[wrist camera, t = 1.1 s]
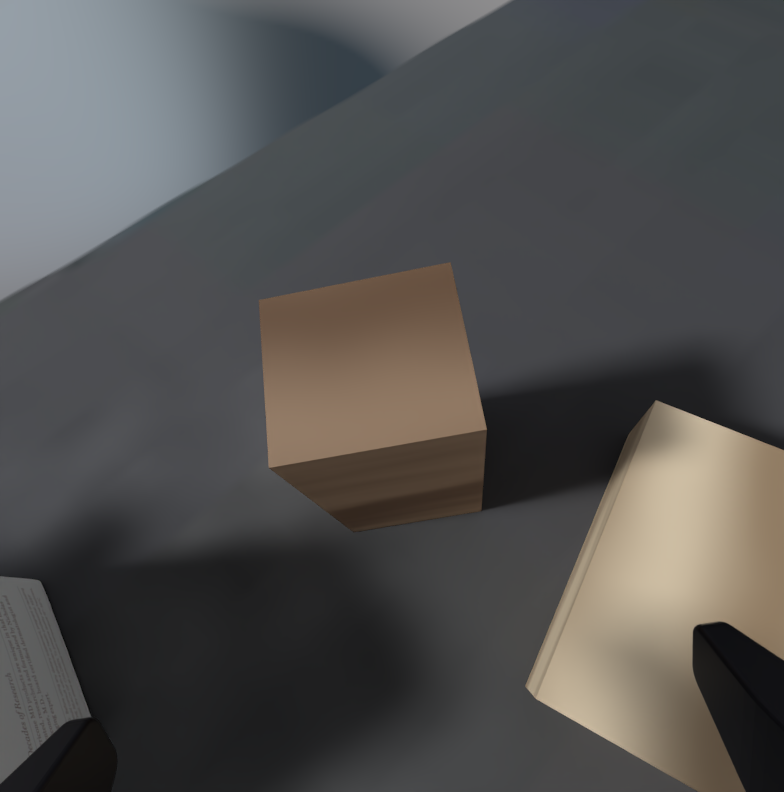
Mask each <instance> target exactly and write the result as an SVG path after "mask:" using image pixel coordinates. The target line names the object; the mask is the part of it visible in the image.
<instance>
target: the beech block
mask: <svg viewBox="0 0 784 792" xmlns="http://www.w3.org/2000/svg"><path fill="white" fill-rule="evenodd" d="M717 621H722V622H726V623H728V624H730V625H731V626H733V627H735V628H736V629H738V630H739V631H741V632H742V633H744V634H745V635H747V636H748V637H750V638H751V639H753V640H754V641H756V642H757V643H759V644H760V645H762V646H763V647H765V648H766V649H768V650H769V651H771V652H772V653H774V654H775V655H777V656H778V657H780V658H781V659H783V660H784V450H782V449H779V448H777V447H774V446H771V445H769V444H766V443H764V442H761V441H759V440H756V439H754V438H751V437H749V436H746V435H743V434H741V433H738V432H736V431H733V430H731V429H728V428H726V427H723V426H720V425H718V424H715V423H713V422H710V421H708V420H705V419H703V418H700V417H697V416H695V415H692V414H690V413H687V412H685V411H682V410H680V409H677V408H675V407H672V406H669V405H667V404H664V403H662V402H659V401H657V400H656V401H655V402H654V403H653V405H652V406H651V407H650V408H649V409H648V411H647V412H646V413H645V414H644V416H643V417H642V418H641V419H640V421H639V422H638V423H637V424H636V426H635V427H634V428H633V429H632V431H631V432H630V433H629V434H628V437H627V439H626V442H625V444H624V447H623V449H622V451H621V454H620V456H619V459H618V461H617V464H616V466H615V469H614V471H613V473H612V476H611V478H610V481H609V483H608V486H607V488H606V490H605V493H604V495H603V498H602V500H601V503H600V505H599V508H598V510H597V512H596V515H595V517H594V520H593V522H592V525H591V527H590V529H589V532H588V534H587V537H586V539H585V542H584V544H583V547H582V549H581V551H580V554H579V556H578V559H577V561H576V564H575V566H574V569H573V571H572V573H571V576H570V578H569V581H568V583H567V586H566V588H565V590H564V593H563V595H562V598H561V600H560V603H559V605H558V608H557V610H556V612H555V615H554V617H553V620H552V622H551V625H550V627H549V629H548V632H547V634H546V637H545V639H544V642H543V644H542V647H541V649H540V651H539V654H538V656H537V659H536V661H535V664H534V666H533V668H532V671H531V673H530V676H529V678H528V681H527V683H526V688H527V689H528V690H529V691H530V692H531V694H532V695H533V696H534V697H535V698H536V699H537V700H539V701H541V702H542V703H544V704H546V705H548V706H549V707H551V708H553V709H555V710H556V711H558V712H560V713H562V714H563V715H565V716H567V717H569V718H570V719H572V720H574V721H576V722H577V723H579V724H581V725H583V726H584V727H586V728H588V729H590V730H591V731H593V732H595V733H597V734H598V735H600V736H602V737H604V738H605V739H607V740H609V741H611V742H612V743H614V744H616V745H618V746H619V747H621V748H623V749H625V750H626V751H628V752H630V753H632V754H633V755H635V756H637V757H639V758H640V759H642V760H644V761H646V762H647V763H649V764H651V765H653V766H654V767H656V768H658V769H660V770H661V771H663V772H665V773H667V774H668V775H670V776H672V777H674V778H675V779H677V780H679V781H681V782H682V783H684V784H686V785H688V786H689V787H691V788H693V789H695V790H696V791H698V792H746V791H745V789H744V787H743V785H742V783H741V781H740V779H739V776H738V774H737V772H736V770H735V768H734V765H733V763H732V761H731V759H730V756H729V754H728V752H727V750H726V747H725V745H724V743H723V741H722V739H721V736H720V734H719V732H718V730H717V727H716V725H715V723H714V721H713V719H712V716H711V714H710V712H709V710H708V707H707V705H706V703H705V701H704V698H703V696H702V694H701V692H700V690H699V687H698V685H697V683H696V680H695V677H694V673H693V668H692V642H693V629H694V627H695V626H696V625H698V624H704V623H710V622H717Z"/></svg>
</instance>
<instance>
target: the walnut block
mask: <svg viewBox="0 0 784 792" xmlns="http://www.w3.org/2000/svg"><path fill="white" fill-rule="evenodd" d="M259 310H260V327H261V343H262V360H263V377H264V393H265V410H266V427H267V443H268V460H269V468H270V469H271V470H272V471H274V472H275V473H276V474H278V475H279V476H280V477H282V478H283V479H284V480H286V481H287V482H288V483H289V484H291V485H292V486H293V487H295V488H296V489H297V490H299V491H300V492H301V493H303V494H304V495H305V496H307V497H308V498H309V499H311V500H312V501H313V502H315V503H316V504H317V505H318V506H320V507H321V508H322V509H324V510H325V511H326V512H328V513H329V514H330V515H332V516H333V517H334V518H336V519H337V520H338V521H340V522H341V523H342V524H343V525H345V526H346V527H347V528H349V529H350V530H351V531H353V532H358V531H364V530H370V529H376V528H382V527H388V526H394V525H400V524H406V523H412V522H418V521H424V520H430V519H436V518H442V517H448V516H454V515H460V514H466V513H472V512H478V511H481V508H482V494H483V479H484V464H485V450H486V435H487V428H486V423H485V419H484V414H483V409H482V405H481V400H480V396H479V391H478V386H477V382H476V377H475V373H474V368H473V363H472V359H471V354H470V350H469V345H468V340H467V336H466V331H465V327H464V322H463V317H462V313H461V308H460V303H459V299H458V294H457V290H456V285H455V280H454V276H453V271H452V267H451V262H450V263H445V264H440V265H434V266H429V267H424V268H419V269H414V270H409V271H404V272H399V273H394V274H389V275H384V276H379V277H374V278H369V279H364V280H359V281H353V282H348V283H343V284H338V285H333V286H328V287H323V288H318V289H313V290H308V291H303V292H298V293H293V294H288V295H283V296H278V297H272V298H267V299H262V300H259Z"/></svg>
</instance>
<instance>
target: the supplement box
mask: <svg viewBox="0 0 784 792" xmlns="http://www.w3.org/2000/svg"><path fill="white" fill-rule="evenodd" d="M87 717H91V715H90V713H89V710H88V706H87V704H86V701H85V698H84V696H83V693H82V690H81V687H80V684H79V681H78V679H77V676H76V673H75V671H74V668H73V666H72V663H71V660H70V657H69V654H68V651H67V648H66V646H65V643H64V640H63V638H62V635H61V632H60V629H59V626H58V624H57V621H56V619H55V616H54V613H53V611H52V608H51V604H50V602H49V600H48V597H47V595H46V592H45V590H44V588H43V586H42V584H41V582H40V581H39V580H34V579H25V578H13V577H3V576H0V784H1V783H2V782H3V781H4V780H5V779H6V778H7V777H8V776H9V775H10V774H11V773H12V772H13V771H14V770H15V769H16V768H17V767H19V766H20V765H21V764H22V763H23V762H24V761H25V760H26V759H27V758H28V757H29V756H30V755H31V754H32V753H33V752H34V751H35V750H36V749H37V748H39V747H40V746H41V745H42V744H43V743H44V742H45V741H46V740H47V739H48V738H49V737H50V736H51V735H52V734H53V733H54V732H55V731H56V730H57V729H58V728H60V727H61V726H62V725H63V724H64V723H66V722H68V721H70V720H74V719H80V718H87Z"/></svg>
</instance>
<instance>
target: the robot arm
mask: <svg viewBox="0 0 784 792" xmlns="http://www.w3.org/2000/svg"><path fill="white" fill-rule="evenodd" d="M692 668H693V673H694V677H695V680H696V683H697V685H698V687H699V690H700V692H701V694H702V696H703V698H704V701H705V703H706V705H707V707H708V710H709V712H710V714H711V716H712V719H713V721H714V723H715V725H716V727H717V730H718V732H719V734H720V736H721V739H722V741H723V743H724V745H725V747H726V750H727V752H728V754H729V756H730V759H731V761H732V763H733V765H734V768H735V770H736V772H737V774H738V776H739V779H740V781H741V783H742V785H743V787H744V789H745V791H746V792H784V660H783V659H781V658H780V657H778V656H777V655H775V654H774V653H772V652H771V651H769V650H768V649H766V648H765V647H763V646H762V645H760V644H759V643H757V642H756V641H754V640H753V639H751V638H750V637H748V636H747V635H745V634H744V633H742V632H741V631H739V630H738V629H736V628H735V627H733V626H731V625H730V624H728V623H726V622H722V621H717V622H710V623H704V624H698V625H696V626H695V627H694V629H693V642H692ZM116 769H117V754H116V750H115V748H114V746H113V744H112V743H111V741H110V739H109V737H108V736H107V734H106V732H105V730H104V729H103V727H102V725H101V723H100V722H99V720H98V719H96V718H94V717H87V718H80V719H74V720H70V721H68V722H66V723H64V724H63V725H62V726H61V727H60V728H58V729H57V730H56V731H55V732H54V733H53V734H52V735H51V736H50V737H49V738H48V739H47V740H46V741H45V742H44V743H43V744H42V745H41V746H40V747H39V748H37V749H36V750H35V751H34V752H33V753H32V754H31V755H30V756H29V757H28V758H27V759H26V760H25V761H24V762H23V763H22V764H21V765H20V766H19V767H17V768H16V769H15V770H14V771H13V772H12V773H11V774H10V775H9V776H8V777H7V778H6V779H5V780H4V781H3V782H2V783H1V784H0V792H111V790H112V786H113V782H114V778H115V773H116Z"/></svg>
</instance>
